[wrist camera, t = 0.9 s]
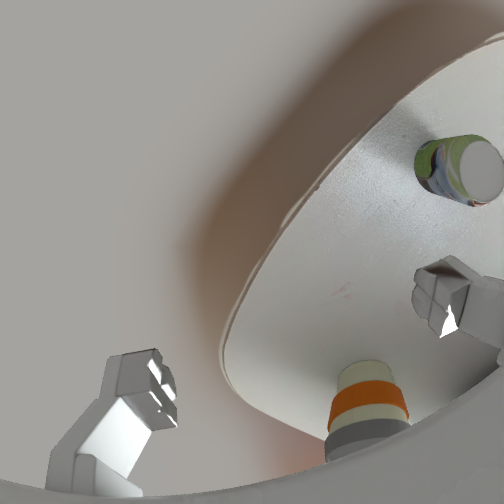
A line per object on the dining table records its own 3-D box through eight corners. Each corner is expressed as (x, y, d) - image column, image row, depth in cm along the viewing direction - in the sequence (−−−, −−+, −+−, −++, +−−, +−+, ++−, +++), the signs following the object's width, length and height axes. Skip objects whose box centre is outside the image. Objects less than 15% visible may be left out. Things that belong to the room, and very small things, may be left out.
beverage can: (417, 196, 30) (459, 236, 20) (402, 133, 28) (446, 144, 17) (461, 184, 28) (515, 219, 18) (449, 123, 26) (507, 132, 15)
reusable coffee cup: (354, 341, 40) (359, 429, 27) (416, 364, 40) (433, 442, 27) (314, 389, 46) (306, 466, 33) (372, 406, 46) (376, 477, 33)
